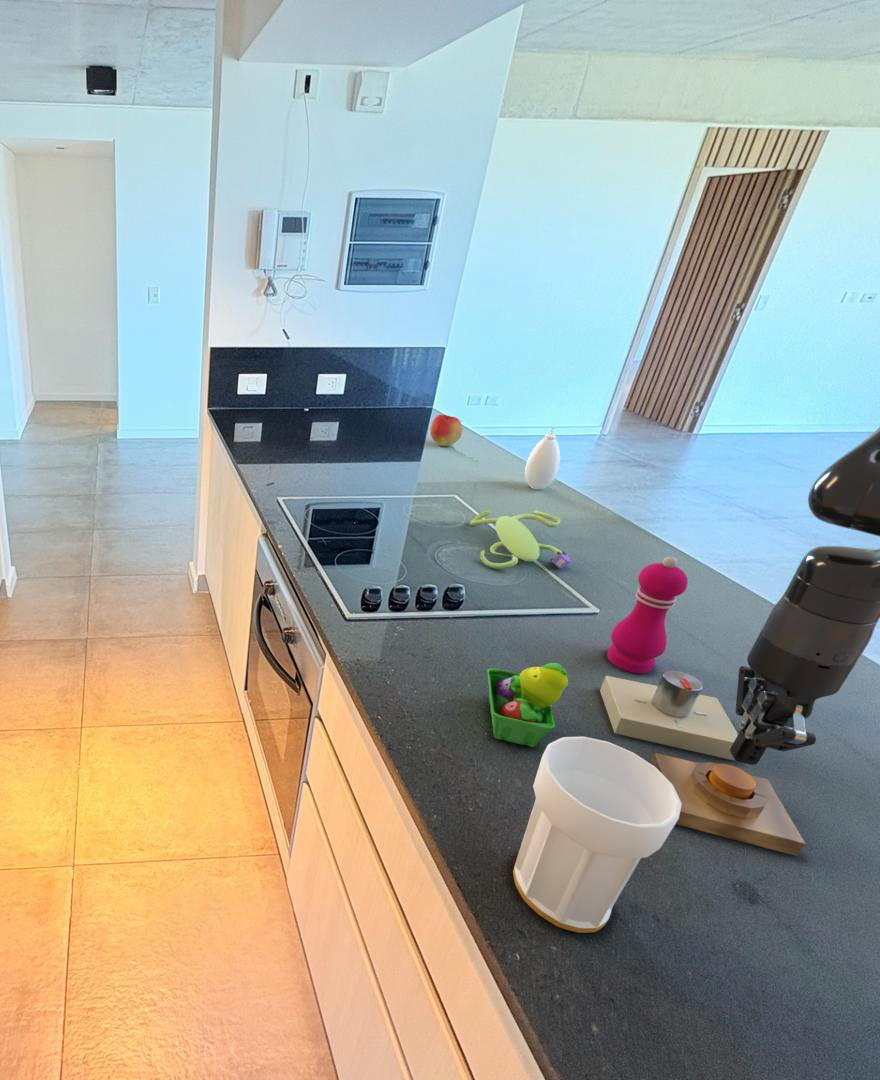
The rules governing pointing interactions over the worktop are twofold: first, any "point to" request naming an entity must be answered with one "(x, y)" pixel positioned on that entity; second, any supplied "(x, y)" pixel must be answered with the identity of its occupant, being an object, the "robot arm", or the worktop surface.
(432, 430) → the apple
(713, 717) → the dimmer panel
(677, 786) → the switch block
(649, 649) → the pepper mill
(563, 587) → the worktop surface
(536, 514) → the figurine
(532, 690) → the fruit basket
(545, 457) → the sauce bottle
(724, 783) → the light button
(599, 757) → the cup
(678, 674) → the dimmer knob
